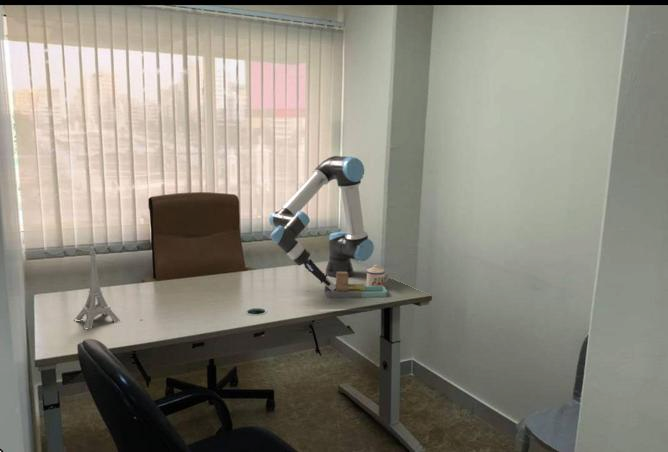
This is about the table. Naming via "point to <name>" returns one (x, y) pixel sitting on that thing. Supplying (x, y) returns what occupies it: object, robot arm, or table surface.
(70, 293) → the table surface
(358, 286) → the yellow cube
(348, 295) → the slot board
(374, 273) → the teacup with lid
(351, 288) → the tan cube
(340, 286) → the block
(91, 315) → the eiffel tower
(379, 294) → the tray
